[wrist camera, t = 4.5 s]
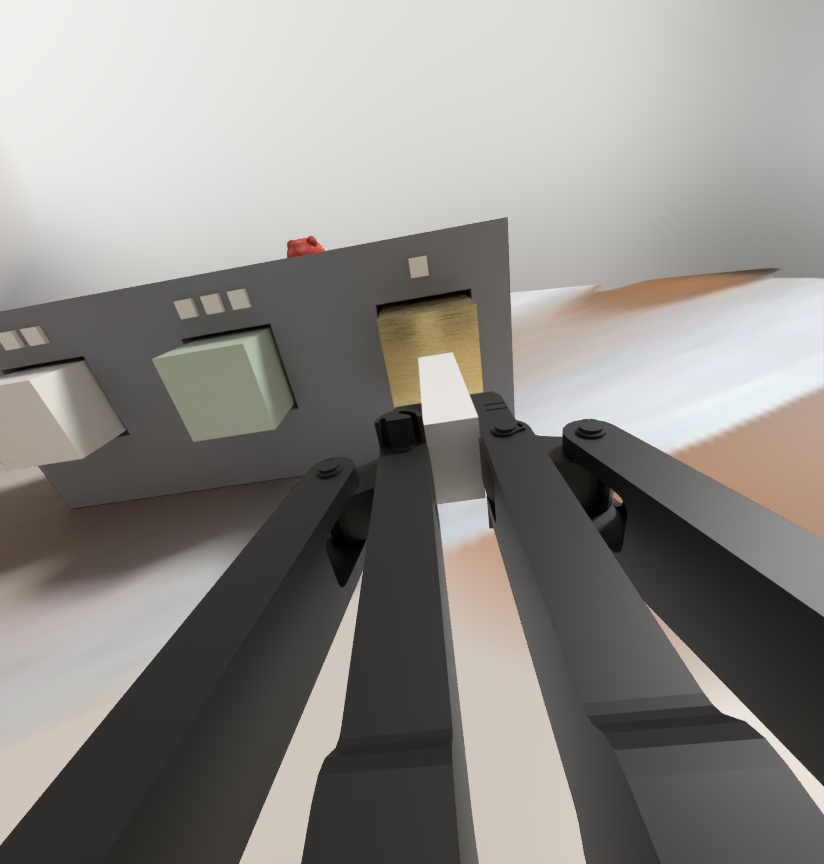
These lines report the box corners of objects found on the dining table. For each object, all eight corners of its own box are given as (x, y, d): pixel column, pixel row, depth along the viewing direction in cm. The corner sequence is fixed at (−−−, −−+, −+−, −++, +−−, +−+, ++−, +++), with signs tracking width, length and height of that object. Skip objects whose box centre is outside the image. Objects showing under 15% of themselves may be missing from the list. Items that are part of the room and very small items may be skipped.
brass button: (483, 397, 20) (476, 303, 18) (394, 411, 20) (376, 320, 18) (468, 365, 25) (460, 290, 23) (397, 376, 26) (383, 303, 23)
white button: (83, 458, 22) (28, 380, 19) (6, 470, 22) (-55, 394, 20) (147, 416, 27) (111, 350, 25) (85, 426, 27) (43, 362, 25)
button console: (516, 447, 25) (509, 216, 19) (67, 511, 27) (-76, 325, 21) (487, 393, 34) (476, 225, 28) (152, 444, 37) (70, 301, 30)
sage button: (275, 429, 21) (243, 343, 18) (193, 441, 21) (151, 359, 19) (302, 391, 26) (280, 321, 24) (236, 402, 26) (208, 334, 24)
